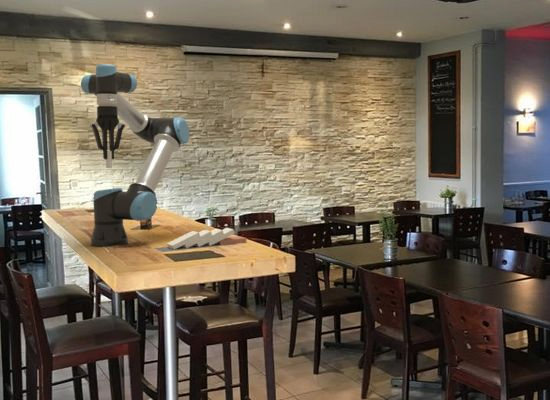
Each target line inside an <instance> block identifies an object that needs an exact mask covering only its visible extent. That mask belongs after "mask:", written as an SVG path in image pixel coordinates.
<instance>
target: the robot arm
mask: <svg viewBox="0 0 550 400" xmlns="http://www.w3.org/2000/svg"><path fill="white" fill-rule="evenodd" d="M80 81H81V82H80V87H81V90H82V91H83V92H84V94H87V95H94V96H95V97H96V105H97V106H96V115H97V118H96V119H95V122H93V123H91V124H90V125H89V126H90V128H91V129H92V130H93V131H92V132H93V135H94V138H95V141H96V145H97V149H98V150H101V151H102V153H103V155H102V156H103V157H102V158H103V159H104V160H105V169H112V168H113V160H115V151H116V150H119V147H120V144H121V139H122V133H123V130H124V128H125V127H126V125H125V124H123V123H122V122H120V119H121V120H122V121H124V123H126V124H127V125H128V128H129V130H130V131H131V132H132V133H133V134H135V135H136V136H137V137H139V138H140V139H142V140H144V141H146V142H148V143H150V144H153V147H152V149H151V151H150V153H149V155H148V157H147V159H146V161H145V163H144V164H143V167H142V168H141V171H140V173H139V175H138V177H137V179H136V180H135V182H133V183H130V184H129V186H128V188H127V190H126V191H123V188H121V187H115V188H107V189H106V188H105V189H101V190H96V191H94V193H93V218H94V219H93V222H94V226H93V230H92V235H91V238H90V245H91V246H95V247H113V246H115V247H116V246H122V245H126V244H128V243H129V238H128V235H127V232H126V229H125V227H124V220H126V221H137V222H140V221H141V222H142V221H148V220H150V219H151V218H153V217H154V215H155V214H156V212H157V209H158V206H157V204H158V198H157V194H156V192H155V191H156V188H157V187H158V184H159V183H160V180H161V178H162V176H163V174H164V172H165V170H166V168H167V166H168V163H169V161H170V159H171V157H172V155H173V154H174V153H175V152H177V151H179V149H180V146H181V145H185V144H187V143H188V142H189V139H190V126H189V124H188V122H187V121H186V119H184V118H183V117H176V116H175V117H158V118H157V117H149V116H147V114H145V113H144V112H143V113H141V111H139V110H138V109H137V108H136V107H135V106H134V105H133V104H132V103H131V102H130V101H129V100H127V99H126V98H125V97H124V96H123V95H122V94H121V93H124V94H127V93H129V94H130V93H134V92H135V90H136V89H137V86H138V80H137V78H136V77H135V75H133V74H130V73H128V72H126V73H125V72H120V71H117V67H116V65H115V64H109V63H104V64H103V63H100V64H97V65H96V67H95V74H93V73H92V74H88V75H84V76H82V79H81V80H80ZM119 118H120V119H119ZM98 128H100V130H101V135H102V136H101V135H100V133H99V132H100V131H99V129H98ZM116 128H117V131H116V134H115V129H116ZM115 135H116V136H115ZM101 137H102V140H101ZM108 144H109V145H108ZM108 148H109V150H108Z"/></svg>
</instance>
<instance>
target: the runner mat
mask: <svg viewBox="0 0 550 400" xmlns="http://www.w3.org/2000/svg"><path fill="white" fill-rule="evenodd" d="M235 245H237V243H236V244H226V245H219V244H213V245H211V246H208V245H205V244H204V245H202V246H200V247H197V246H194V245H192V246H190V247H188V248H184V247H179V248H177V249H175V250H173V249H171V248H168V246H162V247H154V248H153V249H154V250H156V251H159V252H161V253H165V252H166V253H167V252H175V251H187V250H195V249H205V248H214V247H215V248H216V247H222V246H223V247H225V246H235Z"/></svg>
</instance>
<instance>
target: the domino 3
mask: <svg viewBox="0 0 550 400" xmlns="http://www.w3.org/2000/svg"><path fill="white" fill-rule="evenodd" d="M210 231H211V233H212V236H210V237H208V238H206V239H204V240H202V241H200V242H198V243H196V244H194V246H197V247H200V246H202V245H204V244H206V243H208V242H210V241H212V240H214V239H216V238H217V237H219V236H221V235H223V234H224V233H223V229H220V228H215V229H212V230H210Z"/></svg>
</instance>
